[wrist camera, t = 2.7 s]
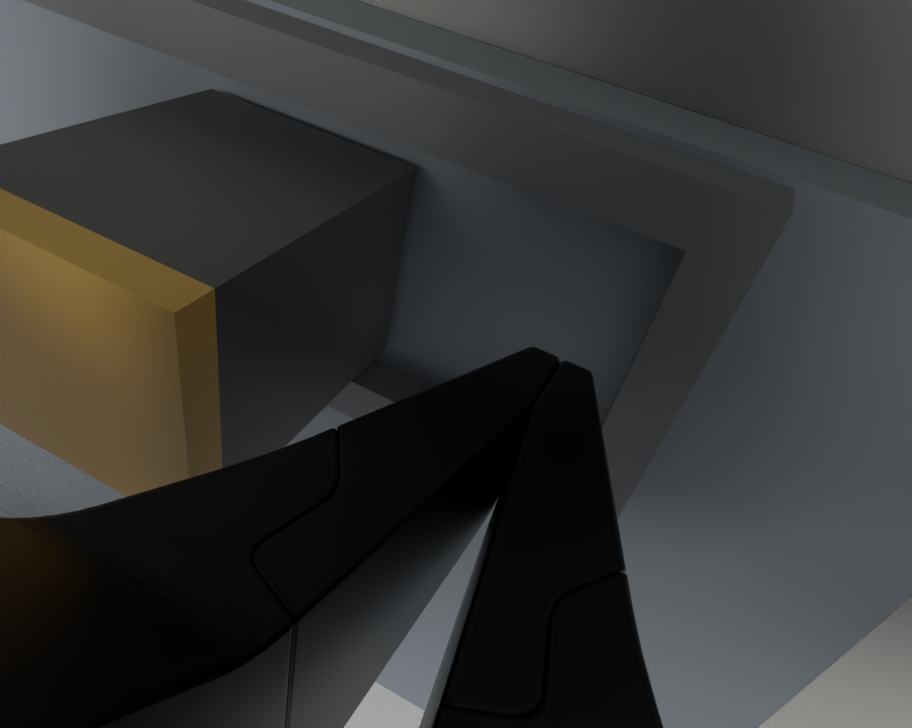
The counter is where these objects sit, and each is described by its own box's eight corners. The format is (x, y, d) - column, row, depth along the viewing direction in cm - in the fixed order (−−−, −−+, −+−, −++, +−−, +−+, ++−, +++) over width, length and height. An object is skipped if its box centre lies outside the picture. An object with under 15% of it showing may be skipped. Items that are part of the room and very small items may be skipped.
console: (1164, 267, 7) (1793, 860, 3) (644, 774, 17) (583, 1094, 13) (-164, -171, 12) (-778, -234, 8) (22, 421, 22) (-193, 555, 17)
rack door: (252, 534, 16) (103, 696, 13) (252, 582, 17) (117, 740, 14) (-34, 374, 18) (-227, 476, 15) (-14, 429, 20) (-187, 533, 16)
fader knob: (415, 167, 9) (173, 313, 6) (386, 346, 11) (193, 535, 8) (211, 88, 10) (-112, 174, 6) (218, 269, 12) (-25, 409, 8)
